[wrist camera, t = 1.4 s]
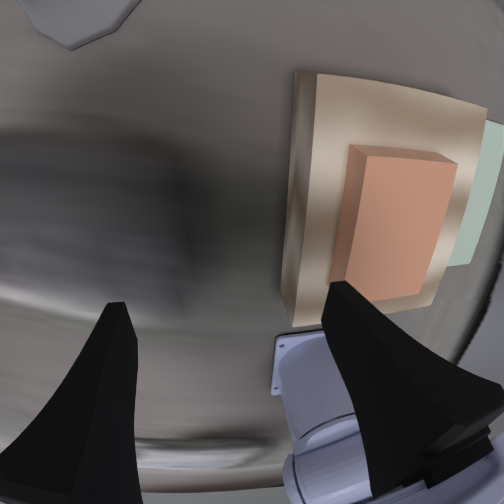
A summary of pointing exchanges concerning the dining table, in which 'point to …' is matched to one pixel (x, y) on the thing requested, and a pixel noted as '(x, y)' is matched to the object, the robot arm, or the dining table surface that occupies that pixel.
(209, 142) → the dining table surface
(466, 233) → the mat
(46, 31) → the flask
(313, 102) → the plate
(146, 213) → the dining table surface
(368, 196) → the tile
